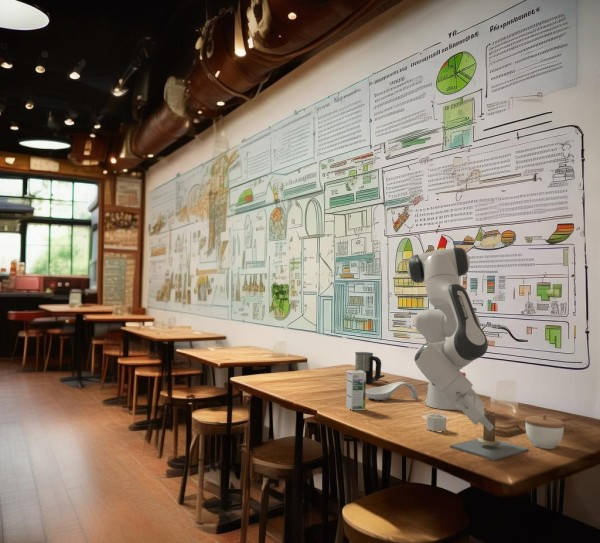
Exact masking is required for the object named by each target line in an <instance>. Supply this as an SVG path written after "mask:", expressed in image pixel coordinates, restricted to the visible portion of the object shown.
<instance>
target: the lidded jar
mask: <svg viewBox="0 0 600 543" xmlns="http://www.w3.org/2000/svg"><path fill="white" fill-rule="evenodd" d="M524 422H525V423H524V424H525V427H524V428H525V432H526V433H525V434H526V437H527V438H528V440H529V441H530V442H531V443H532V445H533V446H534V447H536V448H540V449H546V450H548V449H549V450H553V449H556V447H557V446H558V445H559V444H560V443H562V442H561V441H562V440H563V437H564V431H565V429H564V426H565V422H564V421H563V420H561V419H558V418H554V417H549V416H547V414H545V413H542V415H541V416H540V415H529V416H528V415H527V416H525V418H524Z"/></svg>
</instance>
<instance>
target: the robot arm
mask: <svg viewBox="0 0 600 543" xmlns="http://www.w3.org/2000/svg"><path fill="white" fill-rule="evenodd" d="M407 261H408V262H407V265H406V271H407V274H408V276H409V278H410V279H411V281H413V282H414V283H417V284H418V283H421V284H422V283H424V285H425V286H424V287H425V291H426V296H427V300H428V302H429V304H430V305H431V306H432V307H434V308H426V309H421V310H419V311H418V312H417V314H415V318H414V326H415V329H416V331H418V333H419V334H421V335H422V336H423V338H424V339H425V340H426V342H425V343H424V344H423V345H422V346H421V347H420V348H419V349H418V350H417V352H416V353H415V356H414V363H415V365H416V367H417V368H418V369H419V370H420V372H421V373H422V374H423V375H424V377H425V378H426V379H427V380H428V381H429V382H428V386H427V393H426V399H425V400H424V403H425V405H426V406H428V407H431V408H435V409H439V410H450V411H461V412H463V413H464V415H465V416H466V417H467V419H469V420H470V422H471V423H472V424H474V425H479V423H480V425H482V426H483V427H484V426H485V427H486V428H487V429H488V430H489V431H491V430H492V429H493V428H494V426H493V424H492V423H491V422H489V421H488V419H487V418H486V417H485V416H484V414H487V412H486V411H485V404H484V402H483V400H482V399H481V397H480V396H479V395H478V394H477V393H476V392H475V390H474V389H473V385H474V384H473V383H472V382H471V381H470V380H469V379H468V378H467V376H466V372H465V371H464V372H463V371H461V370H462V369H464V368H465V367H466V366H468V365H469V364H471V363H473V362H475V360H477V359H479V358H481V357H483V356H484V355H485V354H486V353H487V351H488V347H489V343H488V338H487V335H486V334H485V332H484V331H483V329H482V327H481V325H480V323H481V322H480V319H479V316H478V315H477V314H476V312H475V310H474V307H473V304H472V302H471V299H470V297H469V294H468V292H467V290H466V288H464V286H463V285H462V284H461V285H460V281H459V278H458V277H462V276H465V275H466V274H467V273H468V272H469V268H470V257H469V255H468V254H467V252H466V250H465V249H463V248H462V247H453V248H443V249H442V248H441V249H436V250H432V251H427V252H424V253H420V254H419V253H417V254H414V255H411V256H410V257H409V259H408V260H407ZM446 337H448V339H446Z"/></svg>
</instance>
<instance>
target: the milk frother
mask: <svg viewBox="0 0 600 543" xmlns="http://www.w3.org/2000/svg"><path fill="white" fill-rule="evenodd" d="M354 353H355V362H354V363H355V366H354V367H355V368H354V369H355V370H354V371H357V370H361V371H364V372H366V384H372V383H374V382H373V381H378V380H380V379H382V378H384V377H385V375H384V374H381V372H382V371H381V370H382V360H381V359H380V358H379V357H378V356H374V353H373V352H370V351H369V352H367V351H356V352H354ZM374 362H375V372H374Z"/></svg>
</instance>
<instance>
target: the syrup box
mask: <svg viewBox="0 0 600 543" xmlns="http://www.w3.org/2000/svg"><path fill="white" fill-rule="evenodd" d="M366 386H367V383H366V372H364V371H361V370H357V371H355V370H347V371H346V395H345V397H346V399H345V401H346V402H345V408H346V407H347V408H346V409H348V408H349V409H351V410H354V411H364V410H363V409H365V410H366V396H367V395H366V389H367V387H366ZM349 409H348V410H349ZM351 410H350V411H351Z"/></svg>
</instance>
